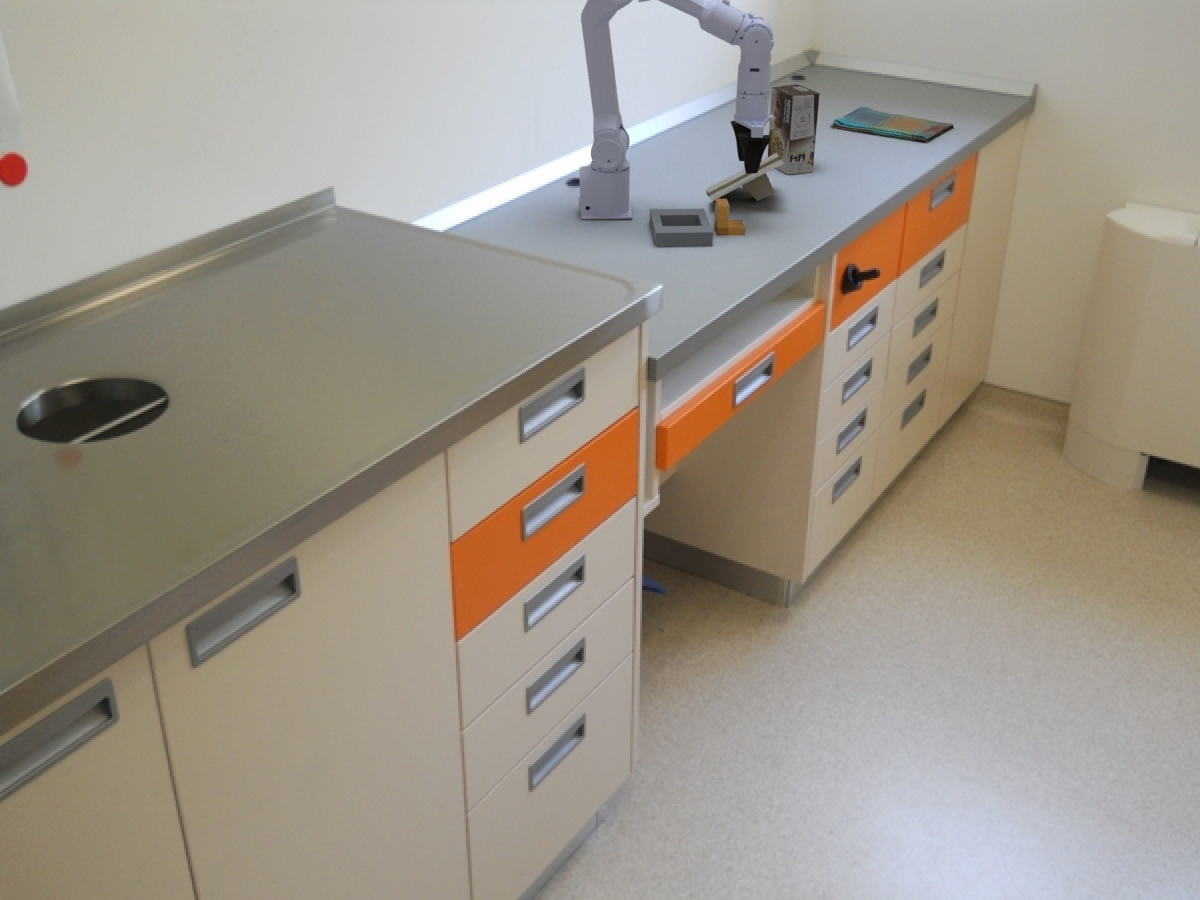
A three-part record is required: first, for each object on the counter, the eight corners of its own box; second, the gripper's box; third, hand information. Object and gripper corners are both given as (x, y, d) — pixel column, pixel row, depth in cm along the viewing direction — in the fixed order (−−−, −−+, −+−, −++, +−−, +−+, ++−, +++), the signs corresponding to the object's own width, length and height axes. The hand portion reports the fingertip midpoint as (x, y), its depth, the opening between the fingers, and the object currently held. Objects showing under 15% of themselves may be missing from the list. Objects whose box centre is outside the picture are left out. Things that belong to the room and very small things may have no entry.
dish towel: (860, 115, 305) (861, 104, 304) (954, 130, 294) (955, 119, 292) (829, 130, 293) (830, 119, 292) (925, 146, 281) (927, 135, 280)
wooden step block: (716, 235, 228) (718, 205, 225) (714, 228, 231) (715, 198, 229) (744, 235, 228) (746, 205, 226) (741, 227, 232) (743, 198, 229)
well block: (655, 246, 223) (655, 232, 221) (649, 222, 234) (649, 209, 233) (712, 245, 223) (713, 232, 222) (703, 221, 234) (704, 208, 233)
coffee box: (814, 172, 262) (821, 93, 254) (786, 175, 260) (792, 95, 252) (792, 160, 269) (798, 83, 262) (765, 163, 267) (770, 85, 260)
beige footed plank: (739, 236, 239) (802, 184, 236) (710, 201, 237) (773, 147, 234) (733, 221, 255) (792, 172, 251) (705, 188, 253) (765, 137, 249)
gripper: (783, 101, 219) (777, 178, 225) (768, 81, 231) (762, 155, 238) (742, 101, 218) (737, 178, 225) (729, 81, 231) (725, 155, 238)
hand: (747, 166), depth 231 cm, fingers open, 7 cm apart
